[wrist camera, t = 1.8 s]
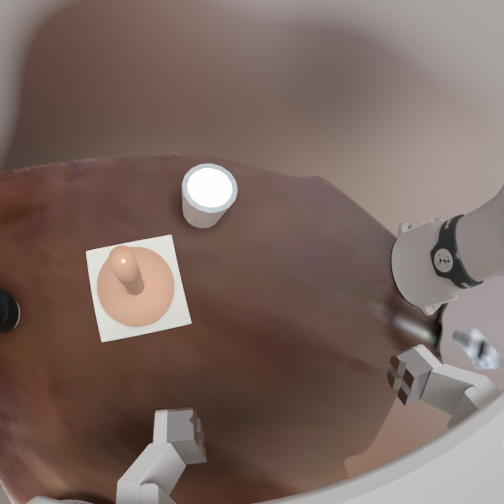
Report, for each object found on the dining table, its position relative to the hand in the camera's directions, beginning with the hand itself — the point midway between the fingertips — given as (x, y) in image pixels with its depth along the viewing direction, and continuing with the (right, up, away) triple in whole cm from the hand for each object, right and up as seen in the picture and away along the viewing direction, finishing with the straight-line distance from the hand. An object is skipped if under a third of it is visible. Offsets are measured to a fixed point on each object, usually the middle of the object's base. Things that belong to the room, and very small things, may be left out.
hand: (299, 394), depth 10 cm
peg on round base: (-17, +1, +25) cm, 30 cm away
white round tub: (-9, +11, +31) cm, 34 cm away
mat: (-17, +1, +25) cm, 30 cm away
